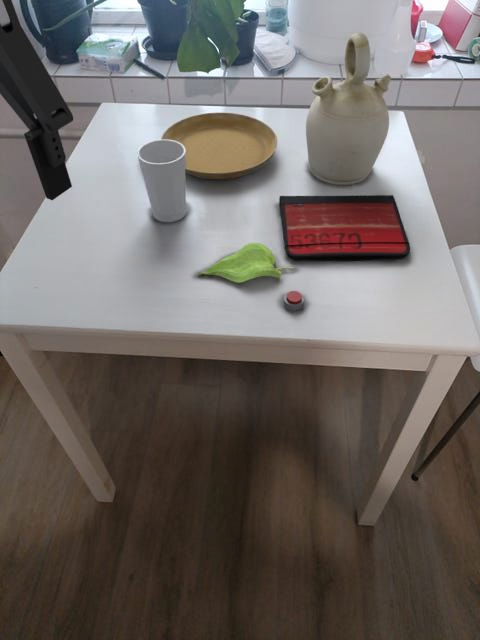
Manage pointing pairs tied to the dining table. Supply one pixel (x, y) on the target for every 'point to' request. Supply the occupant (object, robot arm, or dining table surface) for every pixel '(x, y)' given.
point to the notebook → (342, 228)
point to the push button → (293, 300)
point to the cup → (164, 178)
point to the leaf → (246, 264)
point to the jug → (347, 120)
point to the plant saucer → (223, 144)
